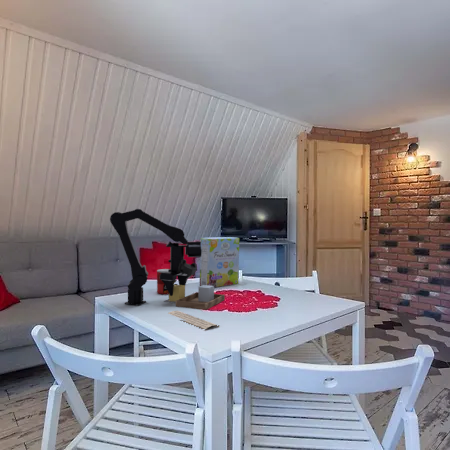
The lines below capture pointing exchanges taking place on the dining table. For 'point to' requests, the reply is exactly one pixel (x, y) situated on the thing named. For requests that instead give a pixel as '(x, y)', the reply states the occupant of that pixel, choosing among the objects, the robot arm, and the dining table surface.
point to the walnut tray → (193, 301)
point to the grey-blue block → (205, 293)
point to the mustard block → (177, 293)
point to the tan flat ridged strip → (192, 320)
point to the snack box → (219, 261)
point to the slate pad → (170, 301)
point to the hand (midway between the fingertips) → (177, 293)
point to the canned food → (161, 283)
